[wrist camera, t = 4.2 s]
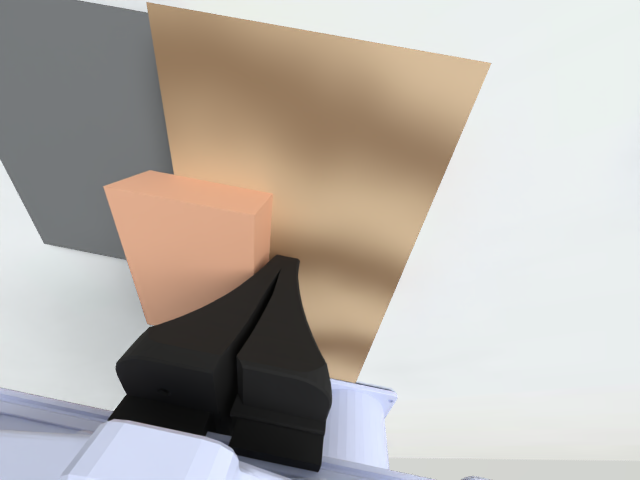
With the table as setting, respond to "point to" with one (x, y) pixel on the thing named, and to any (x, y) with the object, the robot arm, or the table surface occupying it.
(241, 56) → the board
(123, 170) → the mat
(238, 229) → the block
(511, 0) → the table surface
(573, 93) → the table surface
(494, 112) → the table surface
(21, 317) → the table surface
